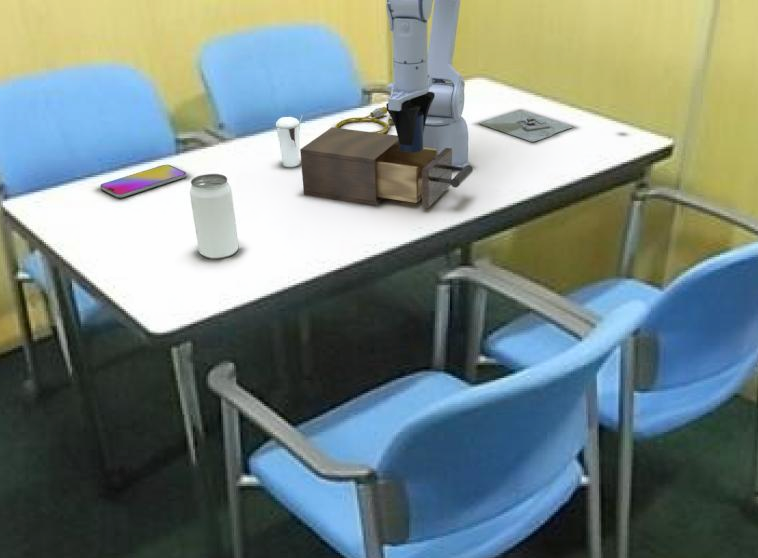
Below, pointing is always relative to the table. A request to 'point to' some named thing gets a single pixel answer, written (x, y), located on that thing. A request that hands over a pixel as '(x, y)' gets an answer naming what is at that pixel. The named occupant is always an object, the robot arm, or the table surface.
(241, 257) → the table surface
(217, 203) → the can
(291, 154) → the milkshake
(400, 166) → the drawer
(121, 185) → the smartphone
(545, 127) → the mousepad
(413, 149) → the glue bottle
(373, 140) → the cabinet
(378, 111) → the extension cord
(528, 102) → the table surface
